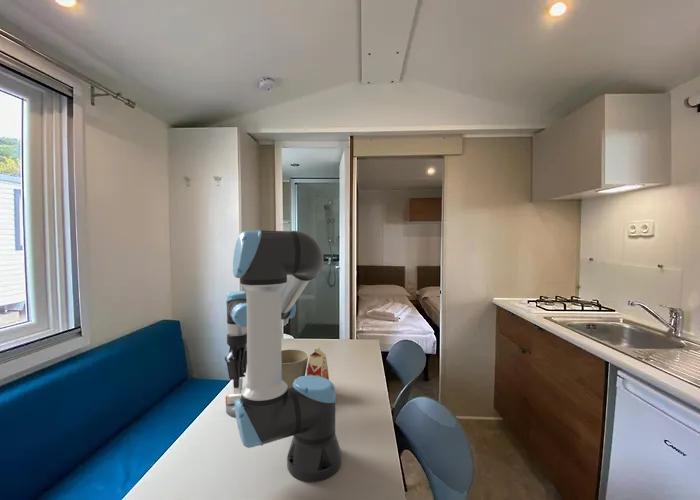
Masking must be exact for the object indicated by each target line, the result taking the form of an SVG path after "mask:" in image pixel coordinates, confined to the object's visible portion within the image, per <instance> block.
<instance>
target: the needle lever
mask: <svg viewBox="0 0 700 500" xmlns="http://www.w3.org/2000/svg"><path fill="white" fill-rule="evenodd" d="M241 391H242V389H241ZM238 398H241V393H240V394H234V393H232V394H227V395H225V405H226V404H227V405H228V404H235V403H234V402H235V400H237V399H238Z"/></svg>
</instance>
